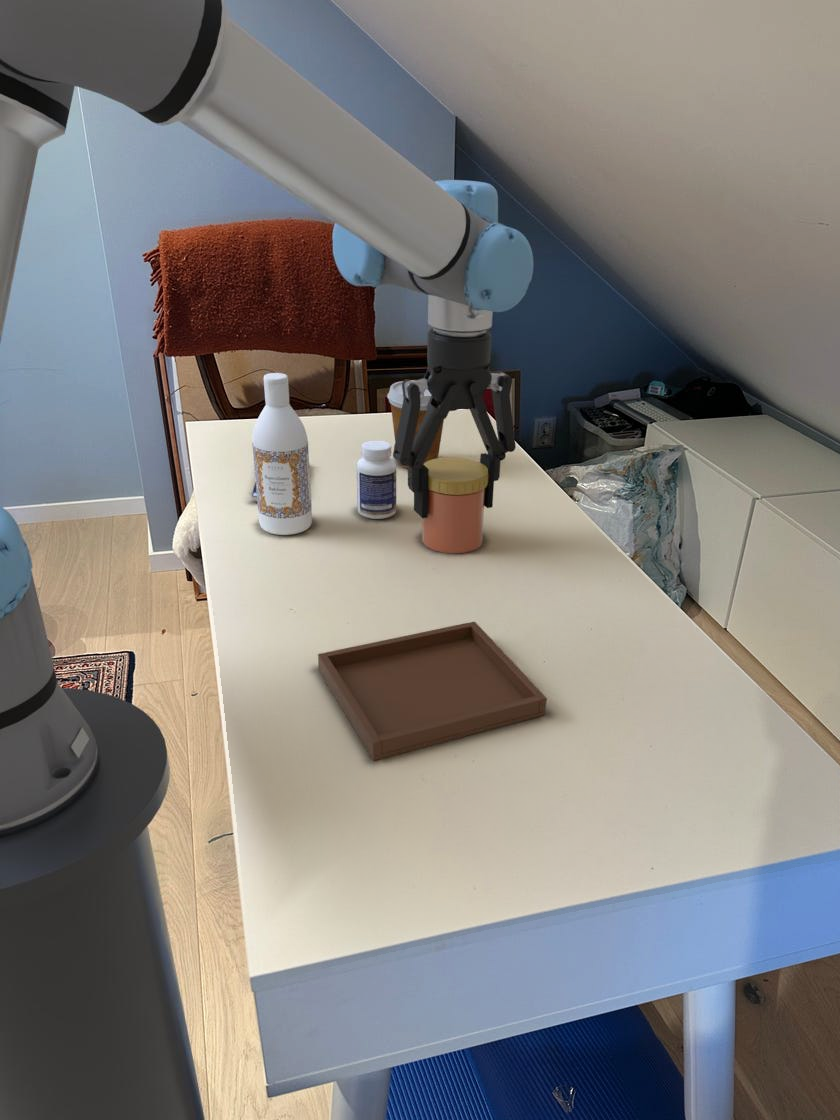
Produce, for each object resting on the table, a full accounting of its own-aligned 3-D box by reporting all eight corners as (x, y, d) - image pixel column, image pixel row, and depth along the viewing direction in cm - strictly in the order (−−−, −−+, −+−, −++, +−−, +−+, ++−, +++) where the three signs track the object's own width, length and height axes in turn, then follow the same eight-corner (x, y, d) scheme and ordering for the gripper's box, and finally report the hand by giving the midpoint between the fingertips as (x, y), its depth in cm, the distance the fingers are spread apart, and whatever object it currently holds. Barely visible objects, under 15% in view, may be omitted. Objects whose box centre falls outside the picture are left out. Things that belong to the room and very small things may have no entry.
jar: (436, 557, 114) (438, 487, 109) (412, 532, 120) (413, 465, 115) (492, 548, 117) (496, 479, 112) (466, 524, 123) (469, 458, 118)
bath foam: (253, 534, 117) (239, 381, 106) (266, 513, 123) (254, 366, 112) (306, 538, 117) (297, 385, 106) (316, 516, 123) (309, 370, 112)
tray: (373, 760, 79) (373, 743, 78) (318, 670, 90) (317, 653, 89) (545, 715, 86) (547, 698, 85) (473, 636, 98) (474, 621, 97)
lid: (437, 498, 109) (437, 484, 108) (410, 474, 116) (410, 461, 115) (499, 489, 113) (500, 476, 112) (469, 466, 119) (470, 453, 118)
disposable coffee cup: (375, 460, 142) (374, 385, 136) (421, 448, 148) (422, 376, 142) (413, 478, 136) (413, 400, 130) (459, 465, 142) (462, 390, 136)
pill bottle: (402, 516, 124) (402, 449, 119) (366, 522, 122) (364, 453, 117) (387, 502, 128) (387, 436, 123) (352, 507, 126) (350, 440, 121)
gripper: (386, 342, 97) (387, 532, 109) (554, 331, 106) (538, 508, 118) (362, 327, 103) (365, 509, 115) (524, 317, 111) (511, 487, 123)
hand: (453, 508), depth 116 cm, fingers open, 9 cm apart
